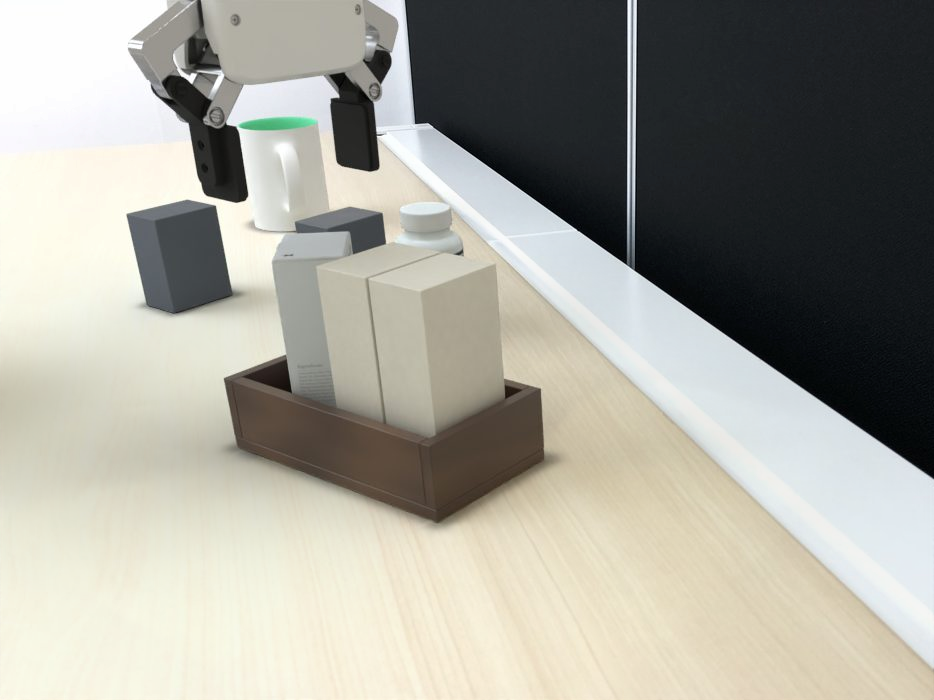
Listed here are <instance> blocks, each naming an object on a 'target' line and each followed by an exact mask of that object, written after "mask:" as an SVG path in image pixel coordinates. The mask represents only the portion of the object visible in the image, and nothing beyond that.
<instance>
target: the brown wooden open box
mask: <svg viewBox="0 0 934 700" xmlns="http://www.w3.org/2000/svg"><path fill="white" fill-rule="evenodd" d="M223 383H224V387H225V392H226V397H227V398H226V399H227V402H228V408H229V413H230V417H231V423H232V428H233V432H234V436H235V442H236V447H237V448H240V449H241V450H243V451H247V452H249V453H252V454H255V455H258V456H260V457H263V458H266V459H268V460H271V461H273V462H276V463H279V464H281V465H284V466H287V467H290V468H292V469H295V470H298V471H300V472H303V473H305V474H308V475H311V476H313V477H316V478H319V479H321V480H323V481H327V482H329V483H332V484H334V485H337V486H340V487H342V488H345V489H348V490H351V491H353V492H356V493H358V494H361V495H363V496H366V497H369V498H371V499H374V500H377V501H380V502H382V503H385V504H388V505H390V506H393V507H396V508H398V509H401V510H403V511H406V512H409V513H411V514H414V515H417V516H420V517H421V518H424V519H427V520H429V521H432V522H435V523H439V522H442V521H443V520H445V519H446V518H448V517H450V516H452V515H453V514H455V513H457V512H458V511H460V510H461V509H463V508H465V507H467V506H468V505H470V504H471V503H473V502H475V501H476V500H478V499H480V498H482V497H483V496H485V495H487V494H488V493H491V492H492V491H493V490H495V489H497V488H498V487H501V486H502V485H504V484H505V483H507V482H508V481H510V480H513V478H515V477H517V476H519V475H520V474H522V473H524V472H526V471H527V470H528V469H531V468H532V467H534V466H535V465H537V464H539V463H540V462H542V461H544V460H545V459H546V458H545V457H546V456H545V438H544V418H543V401H542V400H543V399H542V389H541V388H540V387H537V386H533V385H529V384H526V383H521V382H519V381H515V380H511V379H508V378H504V386H505V400H503V401H501V402H499V403H497V404H495V405H493V406H491V407H489V408H487V409H485V410H483V411H481V412H479V413H477V414H475V415H473V416H471V417H469V418H468V419H466V420H464V421H462V422H460V423H458V424H456V425H454V426H452V427H450V428H448V429H446V430H444V431H442V432H440V433H438V434H436V435H434V436H432V437H430V438H427V437H424V436H421V435H418V434H415V433H412V432H409V431H406V430H403V429H400V428H397V427H394V426H391V425H388V424H385V423H382V422H378V421H375V420H372V419H369V418H366V417H363V416H360V415H357V414H354V413H351V412H348V411H345V410H342V409H339V408H336V407H333V406H329V405H326V404H323V403H320V402H317V401H314V400H311V399H308V398H305V397H302V396H299V395H296V394H293V393H292V389H291V382H290V375H289V369H288V362H287V356H286V354H283V355H280V356H278V357H276V358H273V359H270V360H267V361H264V362H262V363H260V364H256V365H254V366H252V367H249V368H247V369H244V370H241V371H238V372H235V373H234V374H231V375H227V376H225V377H223Z"/></svg>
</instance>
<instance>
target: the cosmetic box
mask: <svg viewBox="0 0 934 700" xmlns="http://www.w3.org/2000/svg"><path fill="white" fill-rule="evenodd" d="M350 255H353V251H352V244H351V237H350V232H348V231H346V232H323V233H297V234H296V233H285V234H284V235H283V237H282V238H281V241H280V242H279V243H278V244H277V246H276V250H275V253H274V255H273V258H272V259H271V268H272V276H273V282H274V289H275V295H276V301H277V305H278V311H279V318H280V326H281V331H282V338H283V344H284V349H285V350H284V351H285V355H286V356H287V362H288V369H289V375H290V382H291V389H292V393H293V394H296V395H299V396H302V397H305V398H308V399H311V400H314V401H317V402H320V403H323V404H326V405H329V406H333V407H336V408H337V405H336V398H335V391H334V384H333V378H332V371H331V364H330V357H329V351H328V344H327V337H326V331H325V324H324V317H323V310H322V304H321V297H320V290H319V283H318V277H317V270H316V266H319V265H322V264H325V263H328V262H331V261H334V260H338V259H341V258H344V257H347V256H350Z"/></svg>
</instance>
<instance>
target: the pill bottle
mask: <svg viewBox="0 0 934 700" xmlns="http://www.w3.org/2000/svg"><path fill="white" fill-rule="evenodd" d="M399 223H400V227H401V229H403V230H404V232H402V233H401V234H399V235H398V236H397V237H396V239H395V241H394V242H395V243H400V244H405V245H410V246H415V247H419V248H424V249H429V250H434V251H439V252H441V254H442V253H449V254H453V255H458V256H463V257H465V254H464V253H465V251H464V243H463V239H462V237H461V235H460V234H459V233H458V232H456V231H454V230H452V229H451V226H452V225H453V214H452V207H451V205H450V204H448V203H446V202H439V201H419V202H414V203H408V204H405V205H403V206H401V207H400V208H399Z"/></svg>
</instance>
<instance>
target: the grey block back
mask: <svg viewBox="0 0 934 700" xmlns="http://www.w3.org/2000/svg"><path fill="white" fill-rule="evenodd" d="M125 215H126V221H127V224H128V228H129V233H130V238H131V242H132V247H133V251H134V256H135V259H136V263H137V267H138V268H137V269H138V272H139V279H140V282H141V286H142V291H143V294H144V298H145V305H146V306H148V307H152V308H156V309H159V310H162V311H164V312H165V311H166V312H169V313H173V314H176V313H180V312H183V311H186V310H189V309H192V308H195V307H198V306H202V305H205V304H208V303H211V302H214V301H218V300H221V299H224V298H227V297H229V296H233V291H232V290H233V289H232V284H231V279H230V273H229V267H228V263H227V257H226V253H225V252H226V251H225V246H224V241H223V235H222V231H221V225H220V220H219V215H218V209H217V205H215V204H210V203H205V202H202V201H196V200H191V199H184V200H179V201H175V202H171V203H166V204H162V205H158V206H153V207H149V208H145V209H141V210H137V211H132V212H128V213H126V214H125Z"/></svg>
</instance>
